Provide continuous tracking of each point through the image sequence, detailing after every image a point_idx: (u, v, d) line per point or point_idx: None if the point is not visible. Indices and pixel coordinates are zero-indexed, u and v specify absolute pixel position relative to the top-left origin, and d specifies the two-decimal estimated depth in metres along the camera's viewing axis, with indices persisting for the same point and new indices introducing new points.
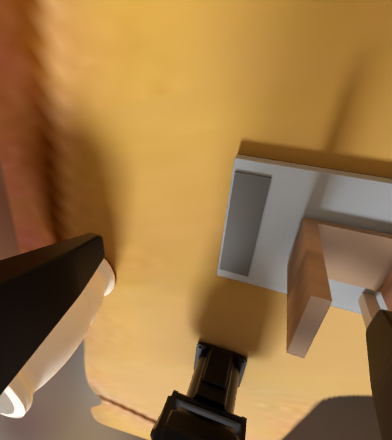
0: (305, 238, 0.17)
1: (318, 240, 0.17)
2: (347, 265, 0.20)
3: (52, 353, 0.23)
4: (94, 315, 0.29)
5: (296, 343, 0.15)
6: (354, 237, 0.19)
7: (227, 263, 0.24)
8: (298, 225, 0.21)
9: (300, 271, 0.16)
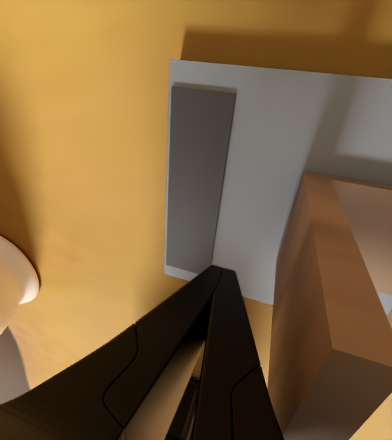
0: (309, 200, 0.08)
1: (335, 203, 0.08)
2: (383, 260, 0.11)
3: None
4: None
5: None
6: None
7: (176, 255, 0.15)
8: (286, 187, 0.12)
9: (298, 269, 0.07)
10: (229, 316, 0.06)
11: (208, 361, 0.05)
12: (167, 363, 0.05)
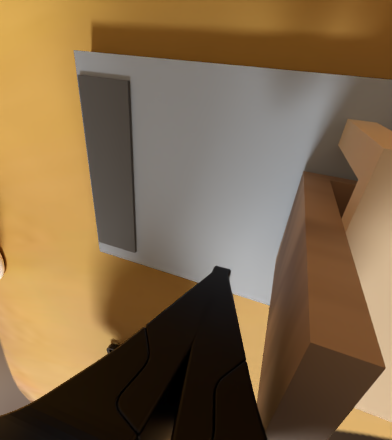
0: (305, 200, 0.08)
1: (331, 203, 0.08)
2: None
3: None
4: None
5: None
6: None
7: (106, 232, 0.17)
8: (183, 166, 0.13)
9: (291, 268, 0.07)
10: (218, 312, 0.06)
11: (194, 356, 0.05)
12: (179, 367, 0.05)
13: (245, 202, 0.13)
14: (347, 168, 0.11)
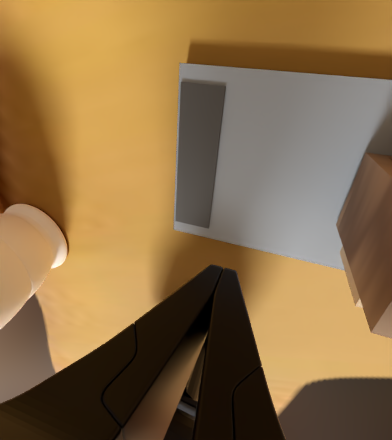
0: (382, 169, 0.12)
1: None
2: None
3: None
4: (34, 282, 0.24)
5: (391, 317, 0.09)
6: None
7: (183, 212, 0.20)
8: (263, 152, 0.16)
9: (382, 212, 0.11)
10: (230, 316, 0.06)
11: (209, 361, 0.05)
12: (166, 363, 0.05)
13: (313, 180, 0.16)
14: None
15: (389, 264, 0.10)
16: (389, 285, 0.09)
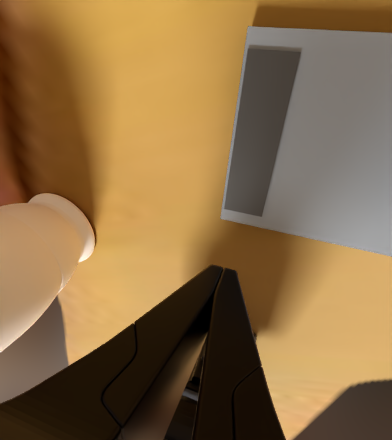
0: None
1: None
2: None
3: None
4: (65, 276, 0.23)
5: None
6: None
7: (234, 199, 0.18)
8: (336, 129, 0.15)
9: None
10: (230, 316, 0.06)
11: (209, 362, 0.05)
12: (166, 363, 0.05)
13: None
14: None
15: None
16: None
